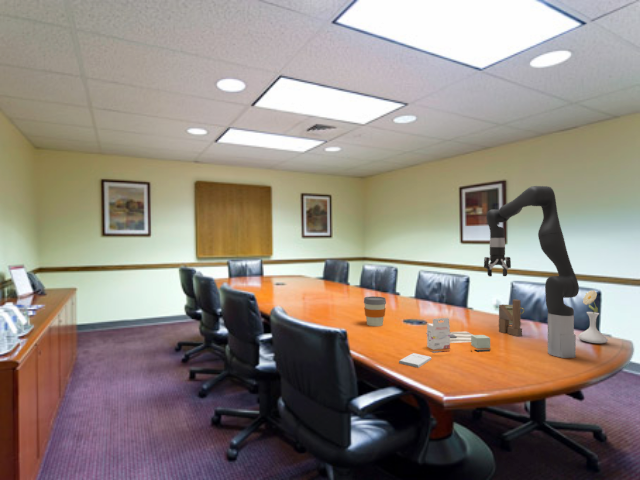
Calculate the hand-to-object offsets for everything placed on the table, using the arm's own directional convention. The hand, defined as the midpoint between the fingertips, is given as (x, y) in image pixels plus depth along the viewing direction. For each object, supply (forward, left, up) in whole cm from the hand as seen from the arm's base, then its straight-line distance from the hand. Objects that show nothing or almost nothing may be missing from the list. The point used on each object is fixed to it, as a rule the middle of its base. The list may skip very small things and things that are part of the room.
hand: (497, 276), depth 198 cm
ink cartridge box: (-33, +48, -29) cm, 65 cm away
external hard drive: (-45, +63, -29) cm, 83 cm away
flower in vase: (-29, -30, -29) cm, 51 cm away
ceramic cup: (+11, -16, -29) cm, 35 cm away
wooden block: (-10, -1, -29) cm, 30 cm away
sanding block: (-34, +29, -29) cm, 53 cm away
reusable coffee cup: (+18, +63, -29) cm, 72 cm away
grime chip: (-18, +35, -27) cm, 48 cm away
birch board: (-18, +33, -29) cm, 47 cm away
